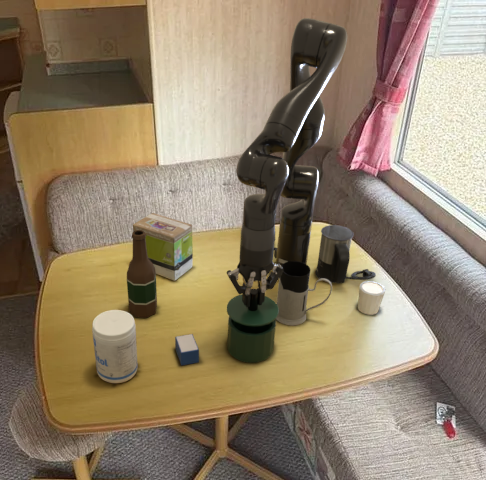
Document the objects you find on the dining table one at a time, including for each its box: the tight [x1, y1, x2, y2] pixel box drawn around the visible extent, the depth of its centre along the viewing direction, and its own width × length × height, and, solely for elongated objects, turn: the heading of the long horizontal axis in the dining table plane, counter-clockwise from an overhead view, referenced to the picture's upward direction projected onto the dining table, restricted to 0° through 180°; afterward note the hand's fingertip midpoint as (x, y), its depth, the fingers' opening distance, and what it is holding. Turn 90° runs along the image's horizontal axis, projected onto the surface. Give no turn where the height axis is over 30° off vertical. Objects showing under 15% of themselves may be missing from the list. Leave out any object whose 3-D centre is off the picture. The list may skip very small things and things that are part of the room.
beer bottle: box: [126, 230, 158, 319], centre depth 144 cm, size 8×8×24 cm
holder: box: [276, 261, 333, 326], centre depth 145 cm, size 9×14×15 cm, turn 69°
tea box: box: [132, 212, 194, 281], centre depth 165 cm, size 15×10×15 cm
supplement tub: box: [91, 309, 139, 384], centre depth 126 cm, size 10×10×15 cm
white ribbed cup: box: [357, 280, 386, 316], centre depth 151 cm, size 7×7×7 cm
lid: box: [226, 288, 279, 326], centre depth 131 cm, size 12×12×6 cm
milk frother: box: [314, 224, 377, 284], centre depth 162 cm, size 14×16×15 cm
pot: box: [226, 315, 277, 364], centre depth 136 cm, size 11×11×8 cm
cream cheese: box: [174, 333, 200, 366], centre depth 134 cm, size 6×4×4 cm
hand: (252, 303), depth 131 cm, fingers closed on lid, 2 cm apart
